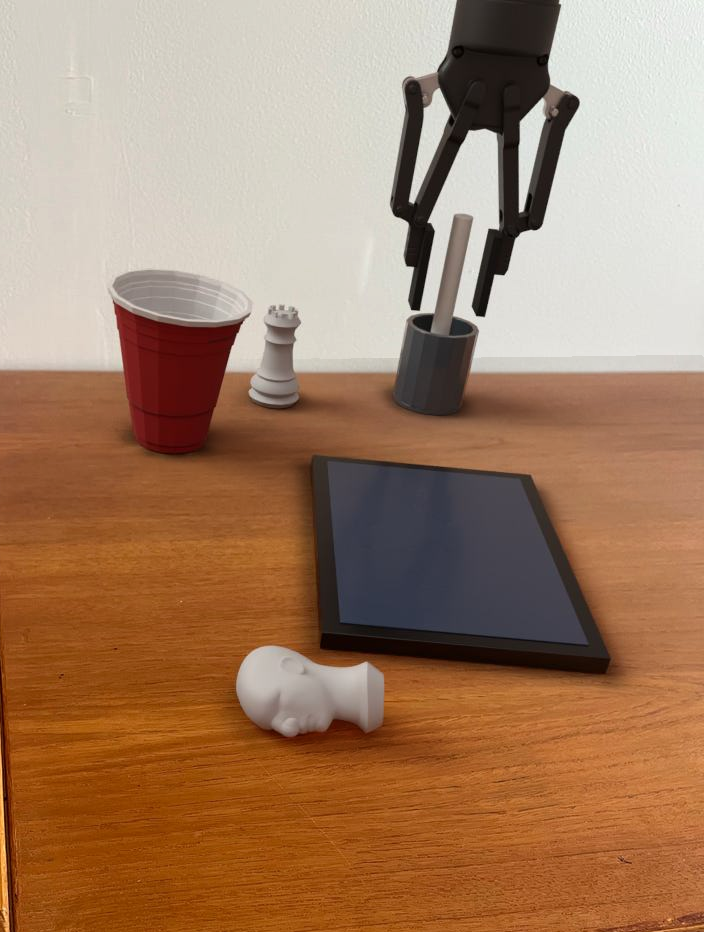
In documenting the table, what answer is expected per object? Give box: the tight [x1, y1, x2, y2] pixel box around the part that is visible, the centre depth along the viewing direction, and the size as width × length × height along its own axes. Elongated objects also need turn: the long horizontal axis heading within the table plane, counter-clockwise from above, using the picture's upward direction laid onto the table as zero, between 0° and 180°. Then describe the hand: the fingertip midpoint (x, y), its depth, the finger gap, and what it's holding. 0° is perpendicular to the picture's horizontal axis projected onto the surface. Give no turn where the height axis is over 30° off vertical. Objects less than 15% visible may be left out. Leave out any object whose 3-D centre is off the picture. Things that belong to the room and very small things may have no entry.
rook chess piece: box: [248, 303, 302, 409], centre depth 89 cm, size 4×4×8 cm
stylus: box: [431, 213, 474, 335], centre depth 89 cm, size 2×2×16 cm
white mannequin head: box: [235, 645, 385, 738], centre depth 54 cm, size 4×8×5 cm
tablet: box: [309, 454, 612, 675], centre depth 70 cm, size 17×24×1 cm
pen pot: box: [392, 312, 480, 416], centre depth 91 cm, size 6×6×7 cm
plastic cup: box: [106, 268, 253, 454], centre depth 79 cm, size 11×11×12 cm
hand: (446, 308), depth 89 cm, fingers open, 5 cm apart
